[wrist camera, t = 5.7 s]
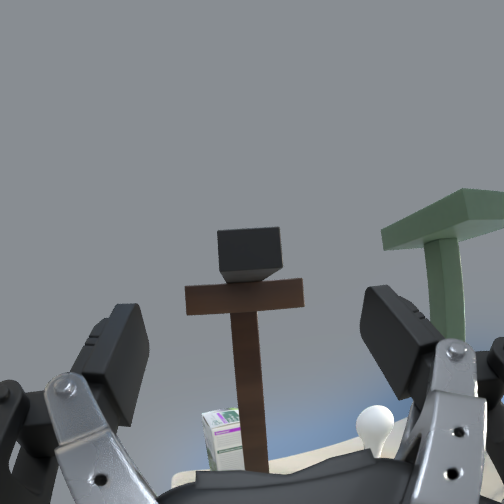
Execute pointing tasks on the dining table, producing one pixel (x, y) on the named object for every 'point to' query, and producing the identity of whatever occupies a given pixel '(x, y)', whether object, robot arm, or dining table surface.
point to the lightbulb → (374, 428)
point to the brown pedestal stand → (247, 347)
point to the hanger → (249, 253)
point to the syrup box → (223, 439)
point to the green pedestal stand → (447, 248)
